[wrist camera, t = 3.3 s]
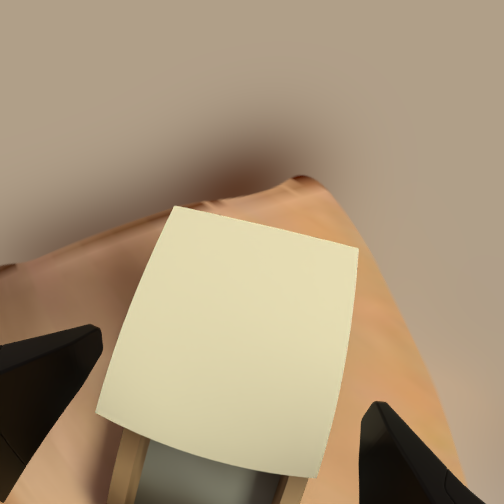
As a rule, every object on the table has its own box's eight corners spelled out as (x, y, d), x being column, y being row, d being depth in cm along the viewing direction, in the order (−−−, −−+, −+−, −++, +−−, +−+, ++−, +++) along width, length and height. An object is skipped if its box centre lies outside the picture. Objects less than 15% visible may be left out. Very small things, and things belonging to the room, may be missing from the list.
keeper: (267, 422, 13) (316, 478, 4) (189, 401, 13) (95, 412, 4) (288, 338, 15) (358, 248, 6) (214, 320, 16) (174, 205, 6)
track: (260, 568, 8) (265, 607, 4) (115, 526, 9) (82, 553, 5) (335, 307, 18) (364, 277, 13) (189, 271, 19) (173, 231, 14)
